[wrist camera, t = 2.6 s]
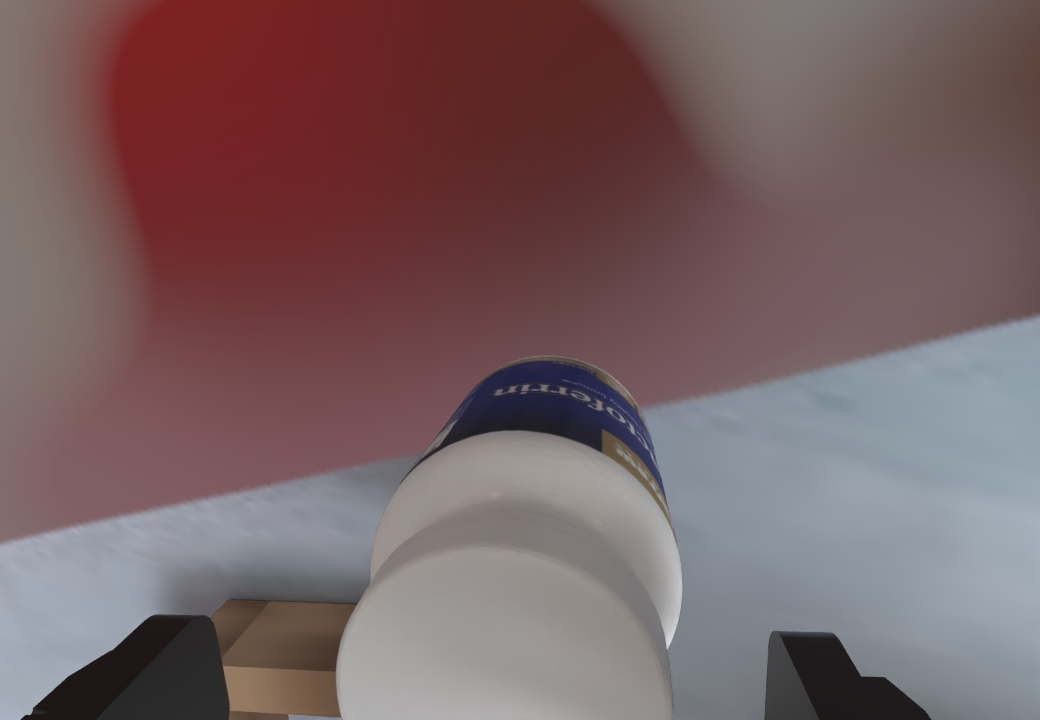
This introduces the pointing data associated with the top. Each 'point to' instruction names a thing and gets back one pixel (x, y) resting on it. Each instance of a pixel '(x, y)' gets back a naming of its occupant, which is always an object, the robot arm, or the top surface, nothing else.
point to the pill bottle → (522, 563)
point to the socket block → (280, 657)
